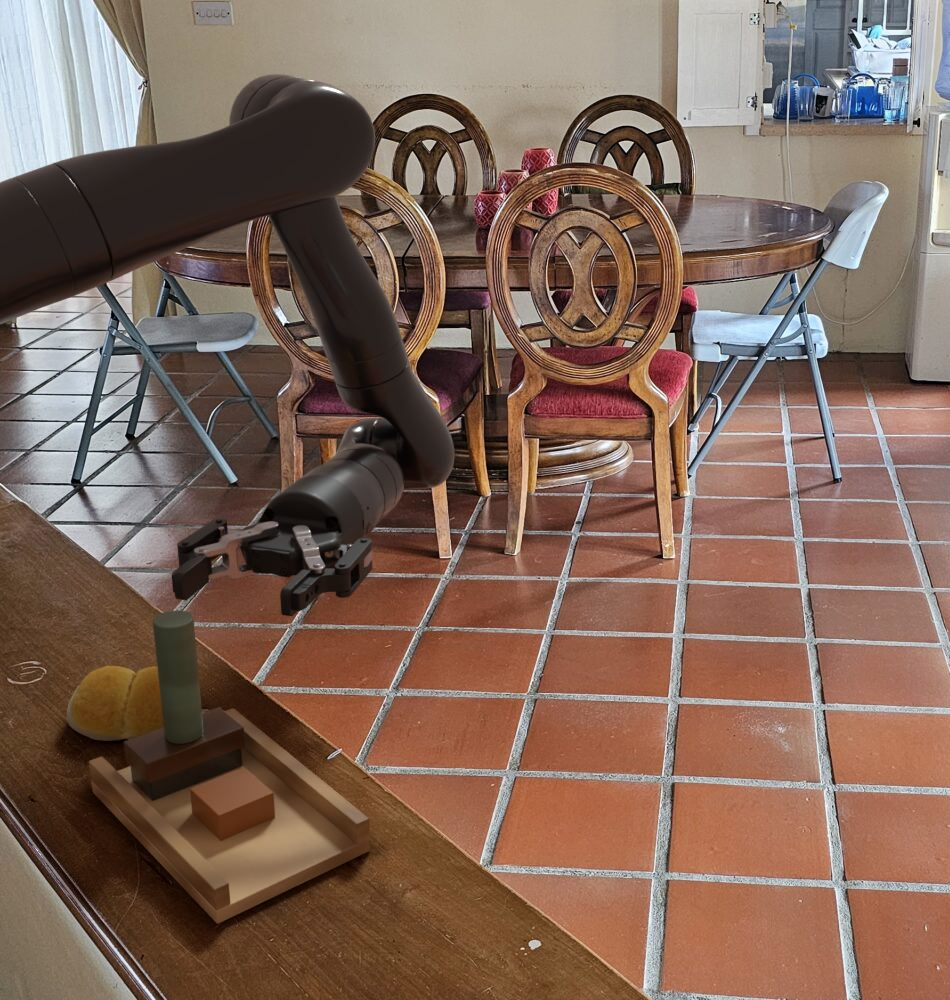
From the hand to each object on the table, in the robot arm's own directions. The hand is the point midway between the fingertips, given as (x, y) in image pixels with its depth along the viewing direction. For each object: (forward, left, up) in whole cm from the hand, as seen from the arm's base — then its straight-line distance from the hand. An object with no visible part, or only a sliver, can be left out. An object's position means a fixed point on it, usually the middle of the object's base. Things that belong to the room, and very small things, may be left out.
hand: (231, 596), depth 95 cm
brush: (0, -8, -10) cm, 13 cm away
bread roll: (-9, -1, -11) cm, 14 cm away
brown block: (+6, -11, -10) cm, 16 cm away
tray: (+5, -11, -11) cm, 16 cm away
